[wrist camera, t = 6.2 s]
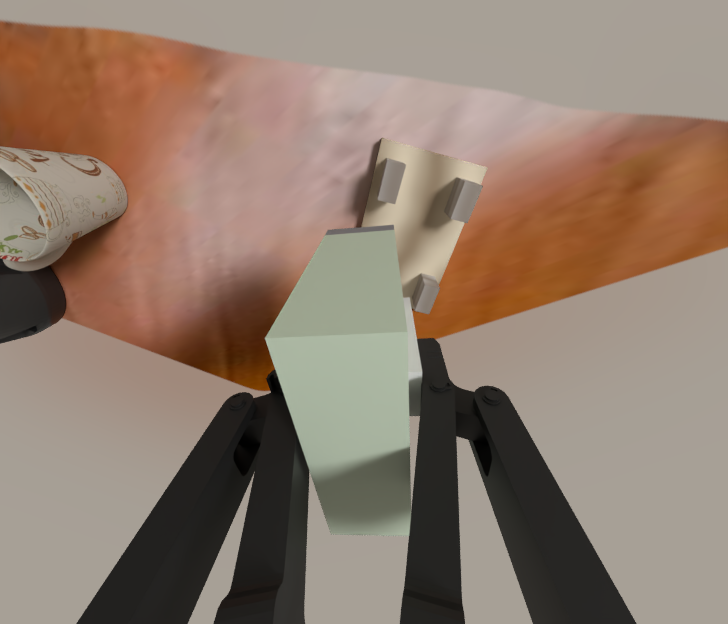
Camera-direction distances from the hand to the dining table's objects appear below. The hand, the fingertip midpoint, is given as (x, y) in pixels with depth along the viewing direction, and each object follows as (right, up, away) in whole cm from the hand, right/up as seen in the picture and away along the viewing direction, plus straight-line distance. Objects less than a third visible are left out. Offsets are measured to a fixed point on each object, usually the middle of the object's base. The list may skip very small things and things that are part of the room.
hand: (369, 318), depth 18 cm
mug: (-29, +12, +12) cm, 34 cm away
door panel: (0, 0, 0) cm, 0 cm away
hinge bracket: (+4, +9, +12) cm, 16 cm away
